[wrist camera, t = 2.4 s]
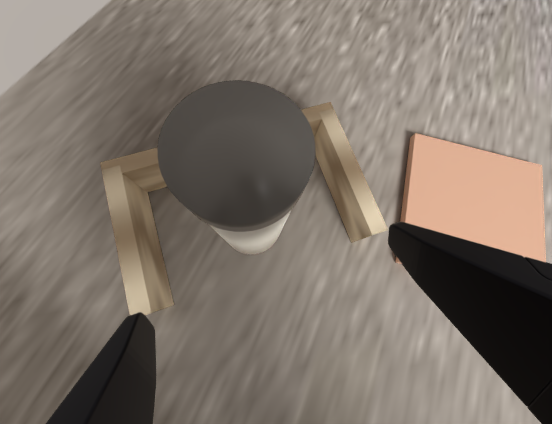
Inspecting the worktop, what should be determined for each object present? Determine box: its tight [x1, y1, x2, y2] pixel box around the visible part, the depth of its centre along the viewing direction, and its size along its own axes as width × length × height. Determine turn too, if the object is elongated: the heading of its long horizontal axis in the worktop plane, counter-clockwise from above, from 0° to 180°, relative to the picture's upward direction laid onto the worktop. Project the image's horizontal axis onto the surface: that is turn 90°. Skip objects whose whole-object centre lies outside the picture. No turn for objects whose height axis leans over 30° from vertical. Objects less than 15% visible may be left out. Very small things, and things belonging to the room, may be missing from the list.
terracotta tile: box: [395, 133, 546, 264], centre depth 21 cm, size 12×12×1 cm
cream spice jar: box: [157, 80, 316, 255], centre depth 14 cm, size 5×5×13 cm
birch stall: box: [100, 102, 388, 315], centre depth 19 cm, size 11×17×4 cm, turn 109°
